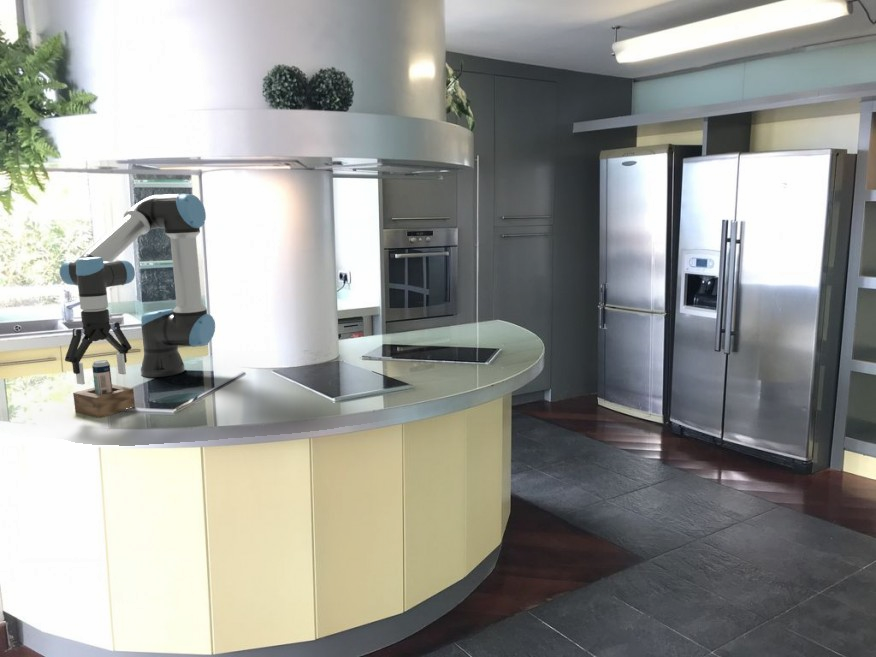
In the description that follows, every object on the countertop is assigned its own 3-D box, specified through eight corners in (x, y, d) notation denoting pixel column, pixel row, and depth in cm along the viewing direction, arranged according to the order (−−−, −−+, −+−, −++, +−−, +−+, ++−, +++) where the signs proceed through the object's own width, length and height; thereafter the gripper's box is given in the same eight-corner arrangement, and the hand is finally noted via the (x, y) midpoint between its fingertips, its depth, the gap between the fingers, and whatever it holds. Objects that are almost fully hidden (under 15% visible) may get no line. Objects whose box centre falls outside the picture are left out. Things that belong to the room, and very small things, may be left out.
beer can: (116, 398, 221) (112, 360, 219) (105, 402, 216) (101, 363, 214) (103, 397, 222) (99, 359, 220) (92, 401, 217) (88, 363, 215)
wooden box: (111, 402, 228) (109, 383, 227) (135, 407, 221) (133, 388, 220) (75, 412, 218) (73, 392, 217) (99, 417, 211) (97, 398, 210)
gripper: (124, 303, 226) (130, 368, 230) (46, 314, 206) (55, 386, 209) (139, 304, 222) (145, 371, 226) (61, 316, 202) (70, 389, 205)
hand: (102, 378), depth 218 cm, fingers open, 13 cm apart
